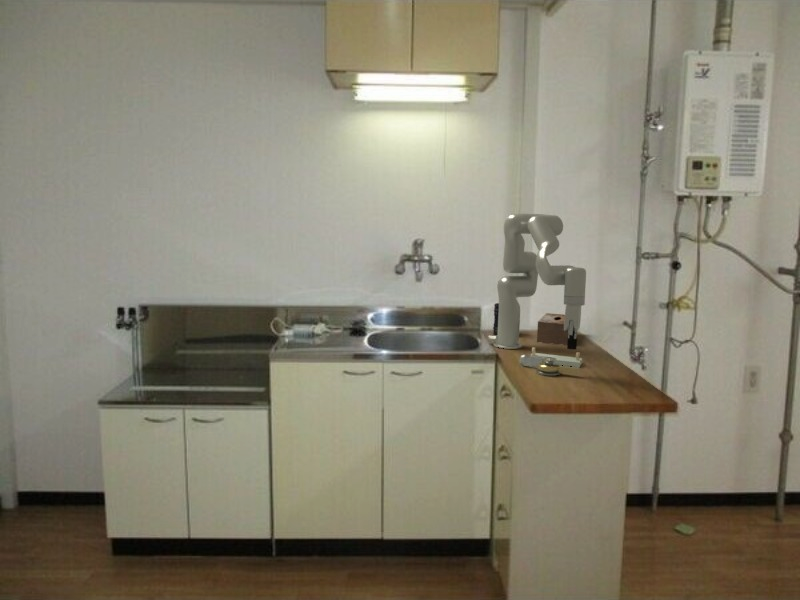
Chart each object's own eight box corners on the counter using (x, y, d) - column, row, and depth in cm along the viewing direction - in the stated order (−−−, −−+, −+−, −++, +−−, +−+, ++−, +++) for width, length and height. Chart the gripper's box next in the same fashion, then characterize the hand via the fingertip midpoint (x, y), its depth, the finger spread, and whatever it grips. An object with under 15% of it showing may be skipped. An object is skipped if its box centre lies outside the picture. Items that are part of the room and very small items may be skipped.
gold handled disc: (535, 371, 229) (536, 362, 228) (539, 366, 236) (540, 357, 236) (577, 376, 223) (577, 367, 223) (580, 371, 230) (580, 362, 230)
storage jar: (514, 337, 295) (516, 306, 292) (494, 336, 295) (495, 306, 293) (511, 332, 305) (513, 303, 302) (491, 332, 305) (493, 302, 302)
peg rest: (528, 361, 248) (528, 349, 247) (532, 357, 255) (532, 345, 254) (579, 367, 240) (580, 355, 239) (581, 363, 247) (582, 350, 247)
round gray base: (534, 374, 229) (534, 372, 229) (538, 368, 237) (538, 366, 237) (558, 377, 225) (558, 375, 225) (562, 371, 234) (562, 369, 233)
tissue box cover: (545, 332, 308) (546, 313, 307) (574, 335, 303) (576, 315, 301) (536, 342, 284) (537, 321, 283) (568, 346, 279) (570, 324, 278)
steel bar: (554, 370, 236) (555, 360, 235) (518, 365, 241) (519, 356, 240) (556, 367, 239) (557, 357, 239) (520, 363, 245) (521, 353, 244)
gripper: (566, 297, 237) (564, 344, 239) (560, 302, 223) (558, 351, 226) (587, 298, 234) (584, 346, 236) (582, 303, 220) (579, 353, 223)
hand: (571, 348), depth 231 cm, fingers closed
